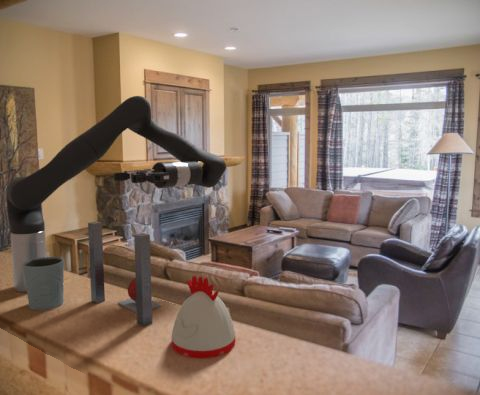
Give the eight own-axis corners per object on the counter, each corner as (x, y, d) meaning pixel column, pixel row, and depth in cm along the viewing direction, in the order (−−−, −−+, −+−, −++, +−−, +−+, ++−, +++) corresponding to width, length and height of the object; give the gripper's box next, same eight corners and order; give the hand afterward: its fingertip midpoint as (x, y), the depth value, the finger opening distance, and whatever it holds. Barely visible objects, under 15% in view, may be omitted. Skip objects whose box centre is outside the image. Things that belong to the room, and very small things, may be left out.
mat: (117, 303, 120) (117, 302, 120) (139, 297, 125) (139, 295, 125) (139, 313, 113) (139, 311, 113) (161, 306, 119) (161, 304, 118)
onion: (123, 304, 118) (122, 275, 117) (137, 298, 123) (137, 270, 122) (140, 308, 116) (139, 279, 114) (154, 301, 121) (153, 273, 120)
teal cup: (45, 313, 113) (42, 268, 112) (16, 308, 117) (13, 264, 116) (74, 300, 123) (71, 258, 121) (46, 295, 126) (43, 254, 125)
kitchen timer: (200, 324, 107) (199, 264, 105) (247, 339, 99) (247, 274, 97) (158, 346, 96) (156, 279, 94) (207, 365, 88) (206, 292, 86)
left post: (91, 300, 122) (87, 222, 119) (100, 298, 124) (96, 221, 121) (96, 303, 121) (92, 223, 118) (104, 300, 123) (101, 222, 120)
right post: (137, 323, 108) (134, 234, 105) (145, 320, 109) (143, 233, 106) (143, 326, 106) (140, 236, 103) (152, 323, 108) (149, 234, 105)
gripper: (156, 160, 135) (108, 163, 123) (186, 162, 125) (137, 165, 114) (156, 185, 136) (109, 189, 124) (187, 189, 126) (138, 194, 115)
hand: (123, 178), depth 119 cm, fingers open, 8 cm apart
